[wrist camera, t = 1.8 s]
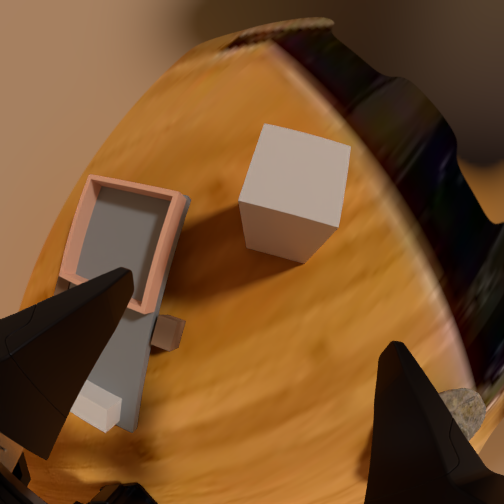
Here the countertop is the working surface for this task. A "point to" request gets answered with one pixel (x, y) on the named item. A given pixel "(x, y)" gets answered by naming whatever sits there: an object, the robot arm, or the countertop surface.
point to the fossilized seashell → (465, 409)
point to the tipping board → (145, 285)
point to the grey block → (293, 193)
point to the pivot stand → (165, 329)
